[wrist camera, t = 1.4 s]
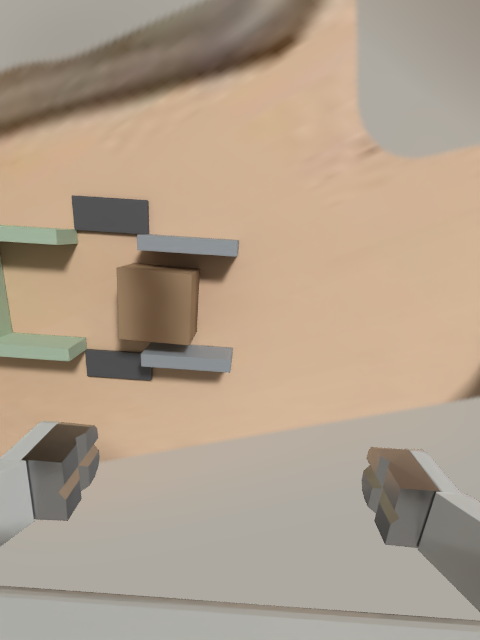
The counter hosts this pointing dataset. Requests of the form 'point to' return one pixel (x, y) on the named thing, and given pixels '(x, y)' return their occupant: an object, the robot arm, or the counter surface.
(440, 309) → the counter surface
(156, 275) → the walnut block
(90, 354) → the trap channel
